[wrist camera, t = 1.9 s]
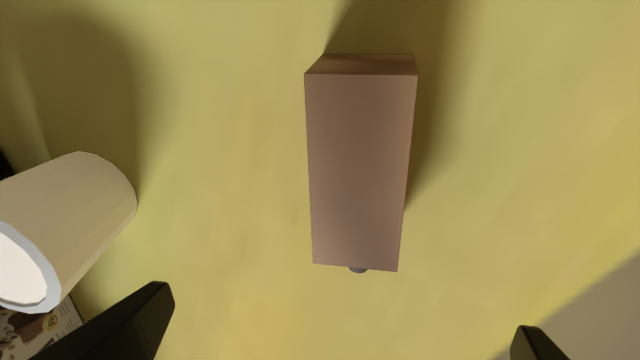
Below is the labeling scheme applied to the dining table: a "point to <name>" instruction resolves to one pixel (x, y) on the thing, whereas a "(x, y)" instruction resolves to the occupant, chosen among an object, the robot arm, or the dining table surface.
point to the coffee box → (35, 329)
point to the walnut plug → (359, 156)
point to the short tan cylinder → (58, 227)
